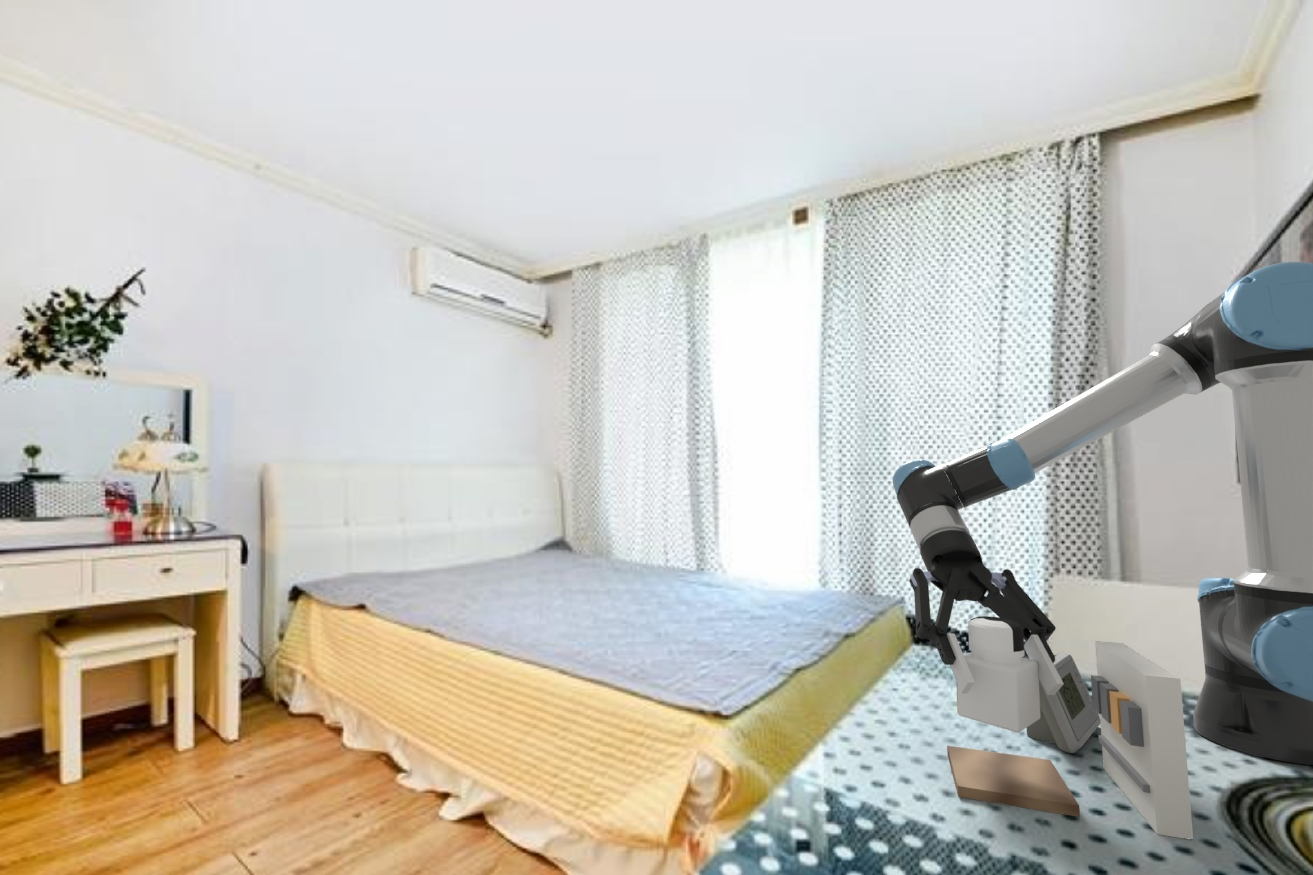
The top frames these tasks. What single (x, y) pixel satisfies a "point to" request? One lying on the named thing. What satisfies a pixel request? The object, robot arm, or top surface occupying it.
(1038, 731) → the digital clock
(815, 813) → the top surface
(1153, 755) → the breaker panel
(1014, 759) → the walnut board
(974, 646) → the medicine bottle
